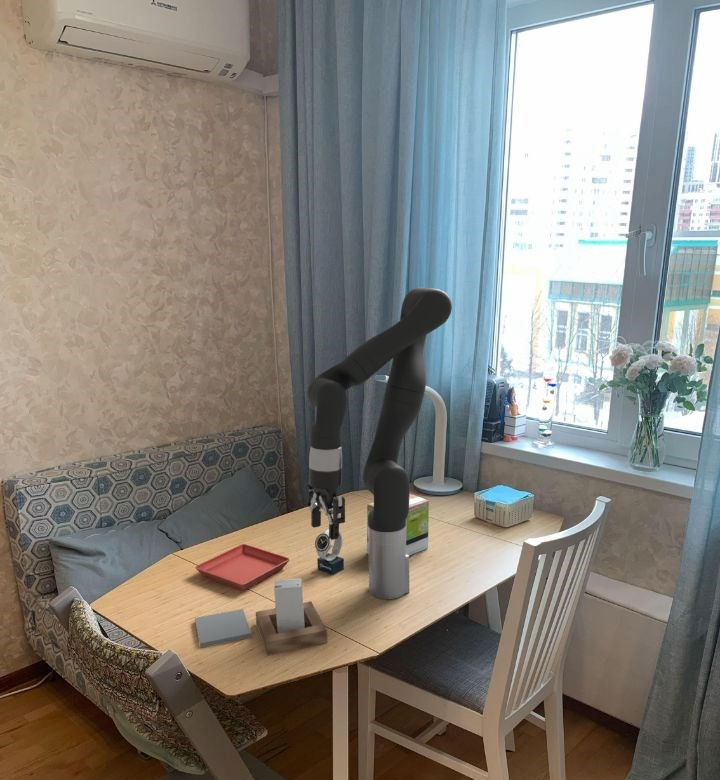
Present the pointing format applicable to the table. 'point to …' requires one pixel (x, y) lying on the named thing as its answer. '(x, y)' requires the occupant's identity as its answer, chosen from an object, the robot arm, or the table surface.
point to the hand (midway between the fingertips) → (324, 532)
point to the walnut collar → (294, 638)
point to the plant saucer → (242, 566)
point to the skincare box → (289, 605)
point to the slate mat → (222, 628)
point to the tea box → (413, 524)
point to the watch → (327, 560)
